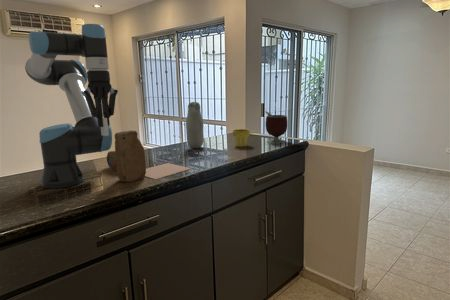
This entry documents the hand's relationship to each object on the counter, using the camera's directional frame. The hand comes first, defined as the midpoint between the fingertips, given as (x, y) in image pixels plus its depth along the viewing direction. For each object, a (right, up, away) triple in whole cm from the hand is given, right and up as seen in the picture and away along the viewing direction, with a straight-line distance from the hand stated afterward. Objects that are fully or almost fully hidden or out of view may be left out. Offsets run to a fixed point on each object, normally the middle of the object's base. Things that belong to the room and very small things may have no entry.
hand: (105, 135), depth 113 cm
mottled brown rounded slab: (-5, -15, +28) cm, 32 cm away
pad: (+17, -15, +23) cm, 32 cm away
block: (+7, -18, +12) cm, 22 cm away
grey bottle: (+27, -5, +72) cm, 77 cm away
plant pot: (+55, -3, +75) cm, 93 cm away
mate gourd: (+78, -1, +84) cm, 115 cm away
